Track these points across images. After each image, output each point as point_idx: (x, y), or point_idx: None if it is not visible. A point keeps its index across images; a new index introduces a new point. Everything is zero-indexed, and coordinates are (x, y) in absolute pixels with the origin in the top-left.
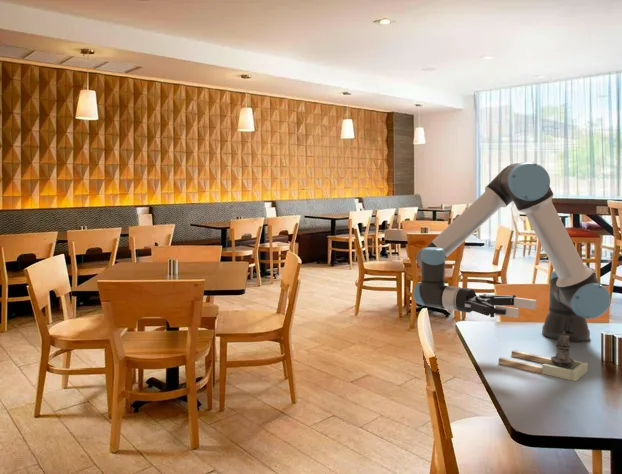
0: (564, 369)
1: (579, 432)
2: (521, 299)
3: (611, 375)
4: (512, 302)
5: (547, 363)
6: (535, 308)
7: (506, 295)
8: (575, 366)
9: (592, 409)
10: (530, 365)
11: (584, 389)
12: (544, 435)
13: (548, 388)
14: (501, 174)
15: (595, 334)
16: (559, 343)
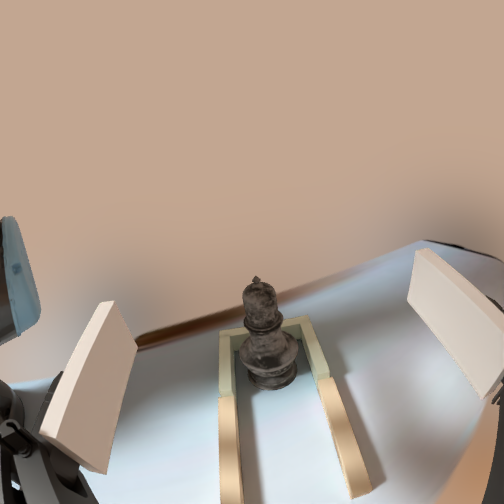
0: (313, 331)
1: (449, 250)
2: (81, 382)
3: (213, 318)
4: (69, 477)
5: (237, 416)
6: (131, 343)
7: None
8: (232, 354)
9: (392, 270)
10: (340, 402)
11: (334, 306)
12: (485, 255)
13: (395, 328)
14: None
15: None
16: (276, 313)
